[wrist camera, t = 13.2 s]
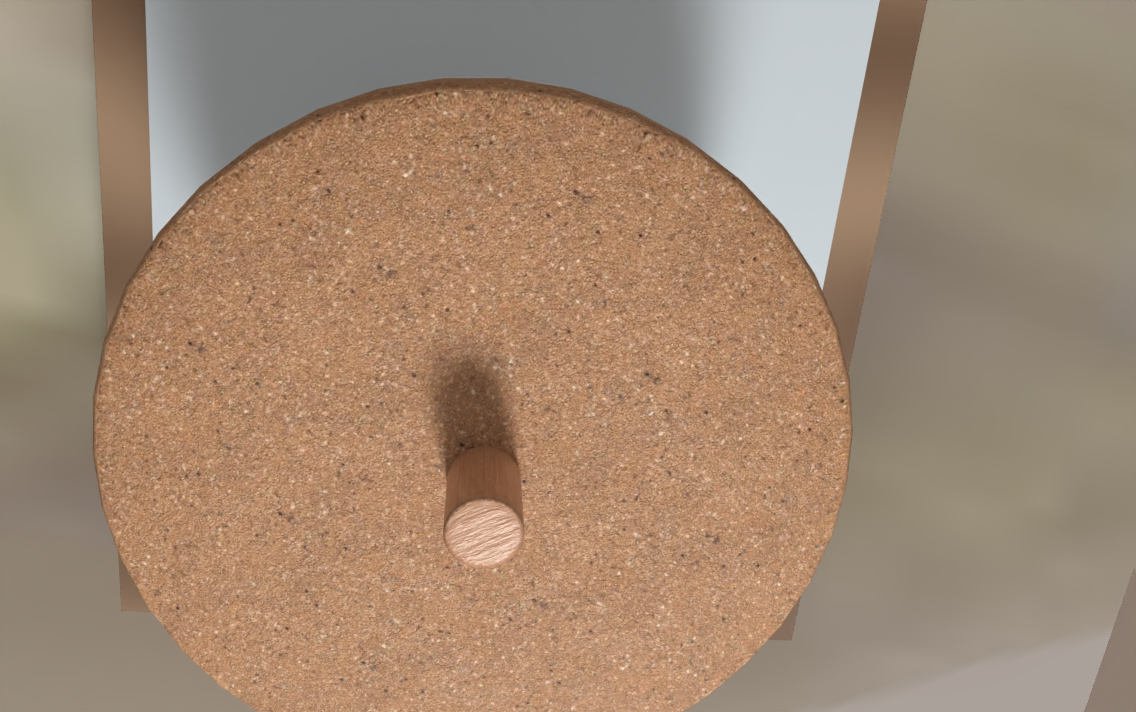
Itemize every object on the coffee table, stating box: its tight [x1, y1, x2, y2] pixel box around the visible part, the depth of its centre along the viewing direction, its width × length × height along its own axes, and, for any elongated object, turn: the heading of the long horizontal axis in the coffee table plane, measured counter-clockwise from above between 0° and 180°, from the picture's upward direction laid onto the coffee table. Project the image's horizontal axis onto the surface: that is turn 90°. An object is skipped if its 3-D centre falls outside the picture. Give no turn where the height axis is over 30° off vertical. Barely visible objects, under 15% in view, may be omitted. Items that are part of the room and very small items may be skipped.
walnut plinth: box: [92, 0, 927, 640], centre depth 23 cm, size 16×16×3 cm
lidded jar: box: [93, 76, 853, 712], centre depth 17 cm, size 11×11×9 cm
